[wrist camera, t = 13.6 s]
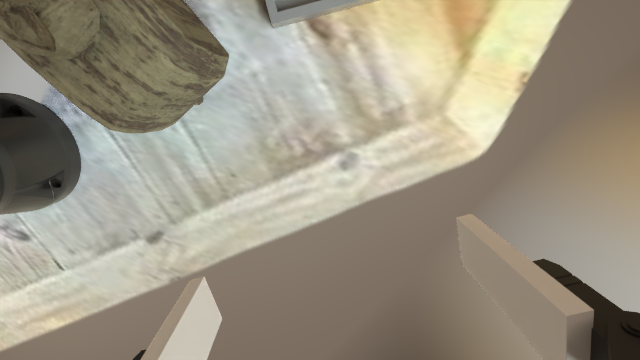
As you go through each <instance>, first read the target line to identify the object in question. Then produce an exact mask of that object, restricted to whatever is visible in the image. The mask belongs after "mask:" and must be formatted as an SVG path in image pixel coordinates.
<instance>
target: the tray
mask: <svg viewBox="0 0 640 360" xmlns="http://www.w3.org/2000/svg"><path fill="white" fill-rule="evenodd" d="M265 1H266V5H267V9H268V13H269V17H270V20H271V24H272V26H273V27H274V28H277V27H281V26H285V25H288V24H292V23H296V22H300V21H303V20H307V19H311V18H315V17H318V16H322V15H326V14H329V13H333V12H337V11H341V10H344V9H348V8H352V7H356V6H359V5H363V4H367V3H371V2H374V1H378V0H265Z"/></svg>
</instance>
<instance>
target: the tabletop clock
mask: <svg viewBox="0 0 640 360" xmlns="http://www.w3.org/2000/svg"><path fill="white" fill-rule="evenodd" d="M0 39H2V40H3V41H4V42H5V43H6V44H7V45H9V47H10V48H11V49H12V50H14V52H16V53H17V54H18V55H19V56H20V57H21V58H22V59H23V60H24V61H25V62H26V63H27V64H28V65H29V66H30V67H32V68H33V69H34V70H35V71H36V72H37V73H38V74H40V75H41V76H42V77H43V78H44V79H45V80H46V81H48V82H49V83H50V84H51V85H52V86H53V87H55V88H56V89H57V90H58V91H59V92H60V93H62V94H63V95H64V96H65V97H66V98H67V99H68V100H70V101H71V102H72V103H73V104H74V105H76V106H77V107H78V108H79V109H80V110H82V111H83V112H85V113H86V114H87V115H89V116H90V117H91V118H93V119H94V120H96V121H97V122H99V123H100V124H102V125H104V126H105V127H107V128H108V129H110V130H114V131H119V132H124V133H146V132H152V131H159V130H163V129H165V128H167V127H169V126H171V125H173V124H175V123H176V122H177V121H178V120H179V119H180V118H181V117H182V116H183V115H184V114H185V113H186V112H187V111H188V110H189V109H190V108H191V107H192V106H193V105H194V104H195V105H199V104H201V103H202V102H203V96H204V95H205V94H206V93H207V92H208V91H209V90H210V89H211V88H212V87H213V86H214V85H215V84H216V83H217V82H218V81H219V80H220V79H222V78H223V76H224V74H225V70H226V66H227V62H228V58H229V54H228V53H227V51H226V50H225V49H224V48H223V46H222V45H221V44H220V43H219V42H218V40H217V39H216V38H215V37H214V36H213V34H212V33H211V32H210V31H209V30H208V29H207V27H206V26H205V25H204V24H203V23H202V22H201V20H200V19H199V18H198V17H197V16H196V15H195V14H194V12H193V11H192V10H191V9H190V8H189V7H188V6H187V4H186V3H185V2H184V1H183V0H0Z"/></svg>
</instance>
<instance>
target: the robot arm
mask: <svg viewBox="0 0 640 360" xmlns="http://www.w3.org/2000/svg"><path fill="white" fill-rule="evenodd" d="M80 171H81V159H80V153H79V150H78V146H77V144H76V142H75V139H74V137H73V136H72V134H71V132H70V131H69V129H68V128H67V127H66V125H65V124H64V123H63V122H62V121H61V120H60V119H59V118H58V117H57V116H56V115H55V114H54V113H53V112H52V111H50V110H49V109H48V108H46V107H45V106H43V105H41V104H40V103H38V102H36V101H34V100H31V99H29V98H27V97H24V96H20V95H16V94H10V93H0V215H1V214H10V213H19V212H28V211H34V210H38V209H42V208H45V207H47V206H49V205H51V204H54V203H56V202H58V201H60V200H62V199H64V198H65V197H66V196H67V195H69V194H70V193H71V192H72V190H73V189H74V188H75V186H76V184H77V182H78V179H79V176H80ZM457 228H458V237H459V245H460V254H461V263H462V265H463V266H464V267H465V269H466V270H467V271H468V272H469V273H470V274H471V276H472V277H473V278H474V279H475V280H476V281H477V283H479V285H480V286H481V287H482V288H483V289H484V291H485V292H486V293H487V294H488V295H489V297H490V298H491V299H492V300H493V301H494V302H495V304H496V305H497V306H498V307H499V308H500V309H501V311H502V312H503V313H504V314H505V315H506V316H507V318H508V319H509V320H510V321H511V322H512V323H513V325H514V326H515V327H516V328H517V329H518V330H519V332H520V333H521V334H522V335H523V336H524V337H525V339H526V340H527V341H528V342H529V343H530V344H531V346H532V347H533V348H534V349H535V350H536V351H537V352H538V354H539V355H540V356H541V357H542V358H543V360H640V313H637V312H629V311H623V310H622V309H620V308H619V307H618V306H616V305H615V304H613V303H612V302H610V301H609V300H608V299H606V298H605V297H603V296H602V295H601V294H599V293H598V292H596V291H595V290H594V289H592V288H591V287H589V286H588V285H587V284H585V283H583V282H582V281H581V280H579V279H578V278H577V277H575V276H573V275H572V274H571V273H570V272H568V271H567V270H566V269H564V268H563V267H561V266H560V265H558V264H555V263H553V262H550V261H548V260H545V259H541V260H537V261H531V260H530V259H528V258H527V257H526V256H525V255H523V254H522V253H521V252H519V251H518V250H517V249H516V248H514V247H513V246H512V245H510V244H509V243H508V242H507V241H505V240H504V239H503V238H502V237H500V236H499V235H498V234H497V233H495V232H494V231H493V230H491V229H490V228H489V227H488V226H486V225H485V224H484V223H482V222H481V221H480V220H479V219H477V218H476V217H475V216H474V215H472V214H469V215H465V216H461V217H457ZM221 321H222V317H221V315H220V312H219V310H218V308H217V305H216V303H215V301H214V298H213V296H212V294H211V291H210V289H209V287H208V285H207V282H206V280H205V277H200V278H196V279H192V280H190V281H189V282H188V284H187V286H186V287H185V289H184V290H183V292H182V294H181V296H180V297H179V299H178V300H177V302H176V303H175V305H174V307H173V308H172V310H171V311H170V313H169V315H168V316H167V318H166V319H165V321H164V323H163V324H162V326H161V327H160V329H159V331H158V333H157V334H156V336H155V337H154V339H153V340H152V342H151V344H150V345H149V347H148V348H147V350H142V351H141V352H140V353H139V354H138V355H137V356H136V357H135V358H134V359H133V360H207V358H208V355H209V352H210V350H211V347H212V344H213V341H214V339H215V336H216V334H217V331H218V328H219V326H220V323H221Z"/></svg>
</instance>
